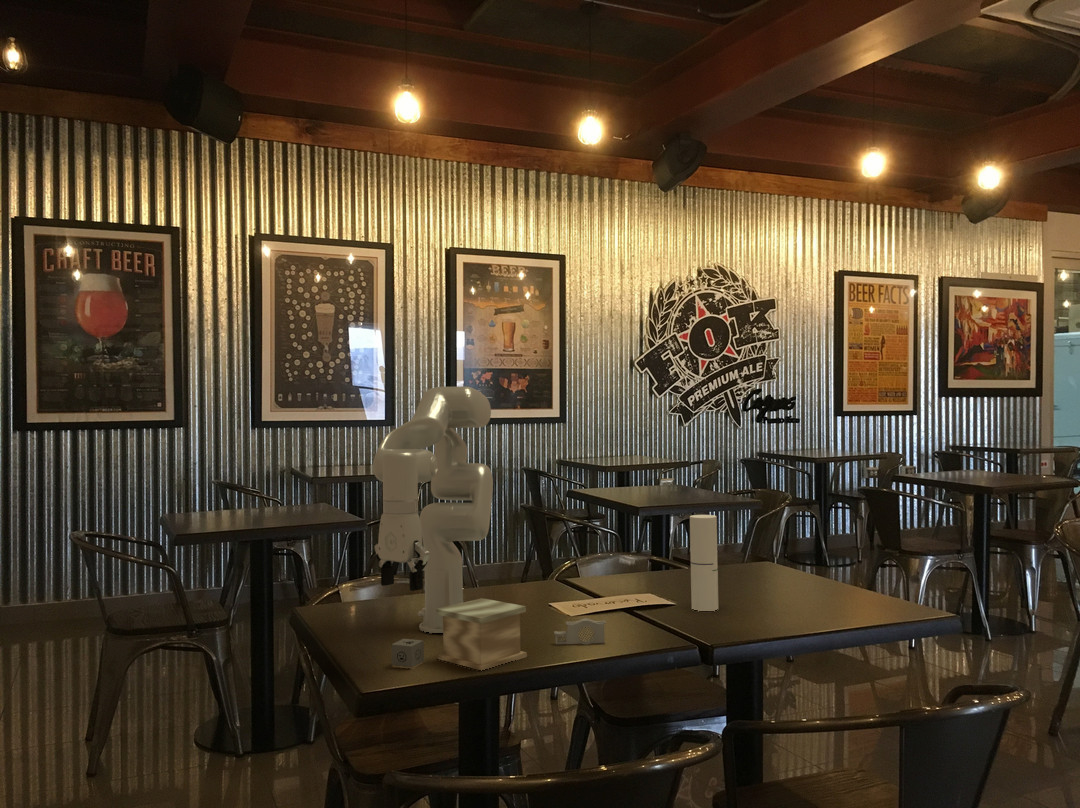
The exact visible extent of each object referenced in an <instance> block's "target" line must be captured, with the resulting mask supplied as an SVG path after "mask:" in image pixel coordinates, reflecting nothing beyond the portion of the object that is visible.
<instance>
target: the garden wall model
mask: <svg viewBox="0 0 1080 808" xmlns="http://www.w3.org/2000/svg"><path fill="white" fill-rule="evenodd" d="M606 623H607V622H606V620H593V619H592V618H591V619H590V618H588V617H585V618H581V619H580V620H579V619H578V620H577V621H565V625H566V626H567V627H566V630H564V631H563V630H562V631H559V630H558V631H556V630H554V631H553V634H554V635H555V637H554V638H555V640H554V641H555V643H554V644H555V645H591V644H593V645H594V644H605V640H606V639H605V625H606Z"/></svg>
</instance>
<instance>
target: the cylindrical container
mask: <svg viewBox="0 0 1080 808" xmlns="http://www.w3.org/2000/svg"><path fill="white" fill-rule="evenodd" d="M717 525H718V519H717V515H713V514H693V515H690V516H689V540H690V541H689V543H690V544H689V545H690V546H689V547H690V551H689V552H690V587H691V588H690V589H691V590H690V593H691V596H690V597H691V598H690V599H691V610H692V609H694V610H698V611H697V612H699V611H714V612H716V611H715V610H717V609H718V610H719V580H718V579H719V573H718V572H719V570H718V566H719V565H718V526H717ZM694 610H693V611H694ZM718 610H717V611H718Z"/></svg>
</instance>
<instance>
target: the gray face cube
mask: <svg viewBox="0 0 1080 808" xmlns="http://www.w3.org/2000/svg"><path fill="white" fill-rule="evenodd" d="M424 643H425V642H424V640H420V639H410V638H409V639H408V638H402V639H400V640H398V641H396V642H394V643H392V644H391V666H392V665H395V666H403V667H411V668H412V667H414V666H416V665H418V664H420V663H422V662H424V663H425V654H424V653H425V651H424V650H425V647H424V646H425V645H424Z"/></svg>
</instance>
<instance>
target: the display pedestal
mask: <svg viewBox="0 0 1080 808" xmlns="http://www.w3.org/2000/svg"><path fill="white" fill-rule="evenodd" d="M526 612H527V606H526V605H520V604H515V603H510V602H505V601H499V600H494V599H488V598H484V597H481V598H477V599H473V600H469V601H465V602H464V601H463V603H460V604H455V605H451V606H447V607H443V608H439V609H436V614H437V615H441V616H443V634H442V637H443V639H442V640H443V642H442V643H443V648H442V649H443V653H440V654H437V656H436V658H438V659H441V660H446V661H449V662H453V663H456V664H459V665H463V666H467V667H471V668H474V669H478V670H481V671H482V670H485V669H488V670H490V669H489V668H491V669H493V668H492V667H494V668H496V667H495V666H497V667H499V666H498V665H500V666H502V665H501V664H503V665H506V664H505V663H507V664H509V663H508V662H510V663H512V662H511V661H513V662H516V661H518V660H521V659H525V658H528V653H527V652H526V651H522V650H521V614H524V613H526ZM515 660H516V661H515ZM459 665H458V666H459ZM474 669H473V670H474ZM478 670H477V671H478ZM481 671H480V672H481ZM485 671H486V670H485ZM482 672H483V671H482Z"/></svg>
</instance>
